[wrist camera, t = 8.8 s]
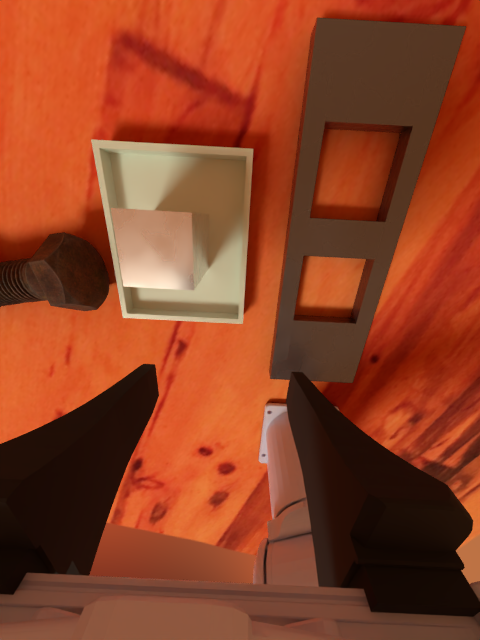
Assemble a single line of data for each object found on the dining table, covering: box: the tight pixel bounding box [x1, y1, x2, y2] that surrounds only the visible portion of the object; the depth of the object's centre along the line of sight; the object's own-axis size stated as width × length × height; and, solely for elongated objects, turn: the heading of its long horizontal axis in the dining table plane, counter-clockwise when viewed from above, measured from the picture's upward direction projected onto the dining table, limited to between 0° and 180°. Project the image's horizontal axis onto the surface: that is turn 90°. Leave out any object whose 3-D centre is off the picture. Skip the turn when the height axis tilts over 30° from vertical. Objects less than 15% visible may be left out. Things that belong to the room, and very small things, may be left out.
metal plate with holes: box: [269, 18, 466, 383], centre depth 18 cm, size 24×8×1 cm, turn 177°
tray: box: [91, 140, 253, 324], centre depth 17 cm, size 12×10×2 cm
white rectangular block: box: [111, 208, 209, 291], centre depth 15 cm, size 4×4×6 cm
